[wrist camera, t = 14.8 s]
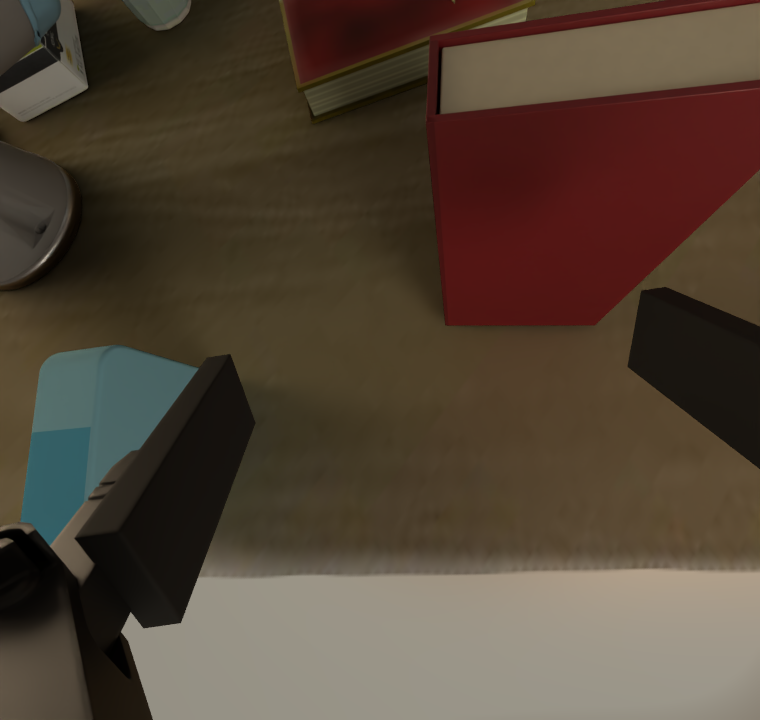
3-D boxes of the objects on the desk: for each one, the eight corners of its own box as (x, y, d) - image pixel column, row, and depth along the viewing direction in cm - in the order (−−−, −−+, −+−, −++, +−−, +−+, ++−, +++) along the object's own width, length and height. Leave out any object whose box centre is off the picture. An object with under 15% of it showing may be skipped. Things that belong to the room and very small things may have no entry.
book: (429, 35, 13) (425, 123, 12) (830, -25, 11) (857, 77, 10) (446, 285, 32) (445, 325, 31) (592, 281, 30) (594, 325, 29)
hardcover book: (293, 34, 41) (276, -10, 37) (490, -43, 39) (494, -100, 35) (312, 124, 38) (295, 86, 34) (527, 47, 36) (536, -4, 32)
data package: (176, 378, 35) (40, 346, 24) (221, 373, 35) (103, 338, 23) (169, 519, 33) (12, 559, 21) (218, 516, 32) (83, 557, 20)
